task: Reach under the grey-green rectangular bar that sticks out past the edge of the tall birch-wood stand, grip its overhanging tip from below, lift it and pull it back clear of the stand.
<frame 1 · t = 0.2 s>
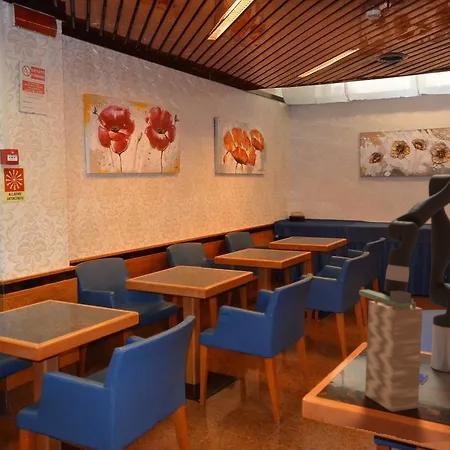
hand: (391, 325, 178), 22 cm above the table, tool pointing down, fingers open, 8 cm apart
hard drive: (407, 379, 192), on the table
stand: (390, 401, 170), on the table
grey-green rectangular bar: (383, 300, 173), point 32 cm above the table, touching stand
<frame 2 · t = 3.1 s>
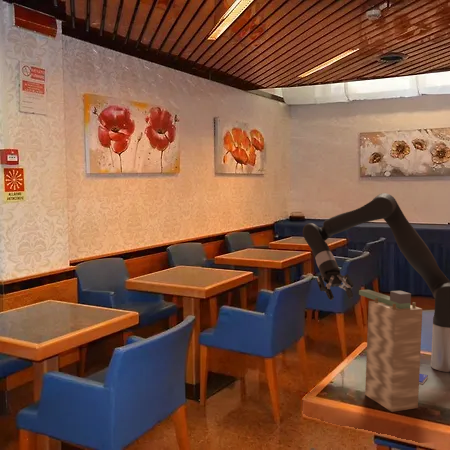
hand: (341, 298, 201), 27 cm above the table, tool tilted 45°, fingers open, 8 cm apart
nothing on the table moved.
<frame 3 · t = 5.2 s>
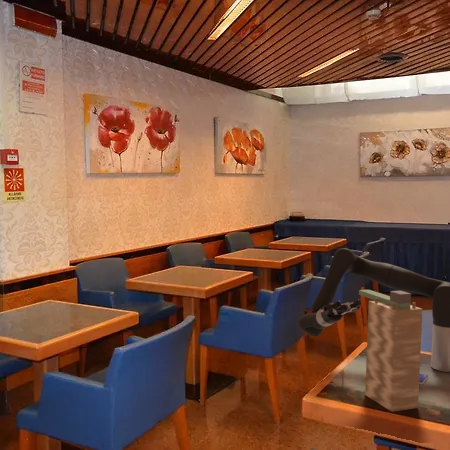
hand: (349, 302, 191), 27 cm above the table, tool pointing upward, fingers open, 8 cm apart
nothing on the table moved.
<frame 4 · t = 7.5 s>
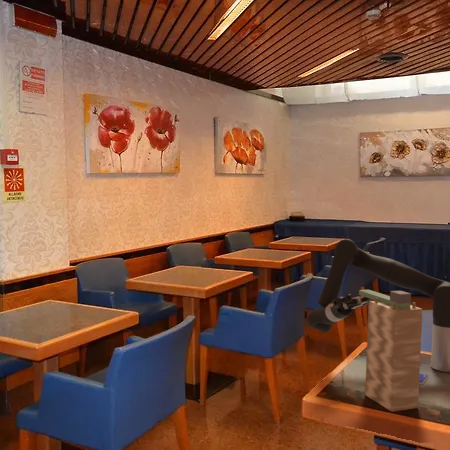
hand: (360, 296, 185), 31 cm above the table, tool pointing upward, fingers open, 8 cm apart
nothing on the table moved.
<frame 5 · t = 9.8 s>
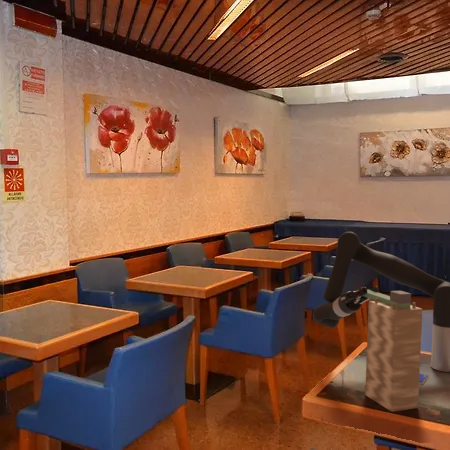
hand: (371, 289, 179), 35 cm above the table, tool pointing upward, fingers closed on grey-green rectangular bar, 4 cm apart
grey-green rectangular bar: (383, 300, 173), point 32 cm above the table, touching gripper, stand
everything else where it was.
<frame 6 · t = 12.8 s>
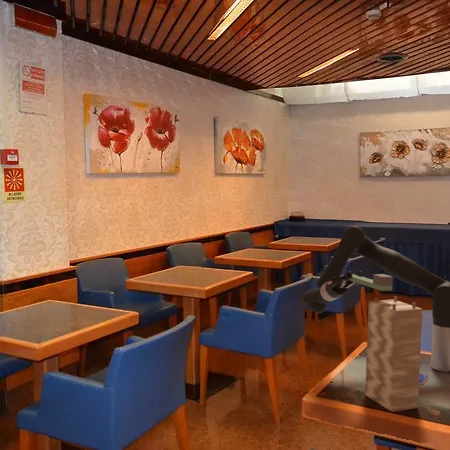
hand: (356, 273, 187), 39 cm above the table, tool pointing upward, fingers closed on grey-green rectangular bar, 4 cm apart
grey-green rectangular bar: (367, 284, 181), point 36 cm above the table, touching gripper
everything else where it was.
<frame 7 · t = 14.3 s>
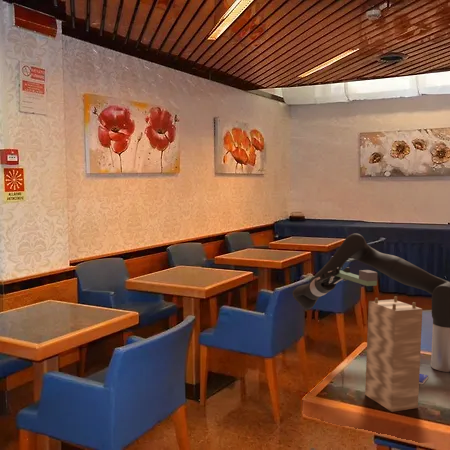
hand: (343, 269, 195), 39 cm above the table, tool pointing upward, fingers closed on grey-green rectangular bar, 4 cm apart
grey-green rectangular bar: (353, 279, 189), point 36 cm above the table, touching gripper
everything else where it was.
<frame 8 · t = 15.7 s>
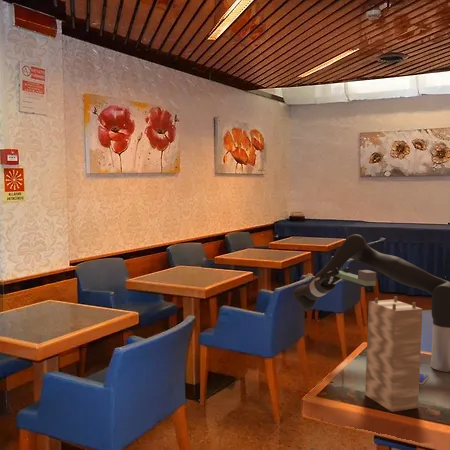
hand: (343, 270, 196), 38 cm above the table, tool pointing upward, fingers closed on grey-green rectangular bar, 4 cm apart
grey-green rectangular bar: (352, 279, 190), point 36 cm above the table, touching gripper
everything else where it was.
at the end: the gripper is holding grey-green rectangular bar; grey-green rectangular bar touching gripper; grey-green rectangular bar moved 18.4 cm from its start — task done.
